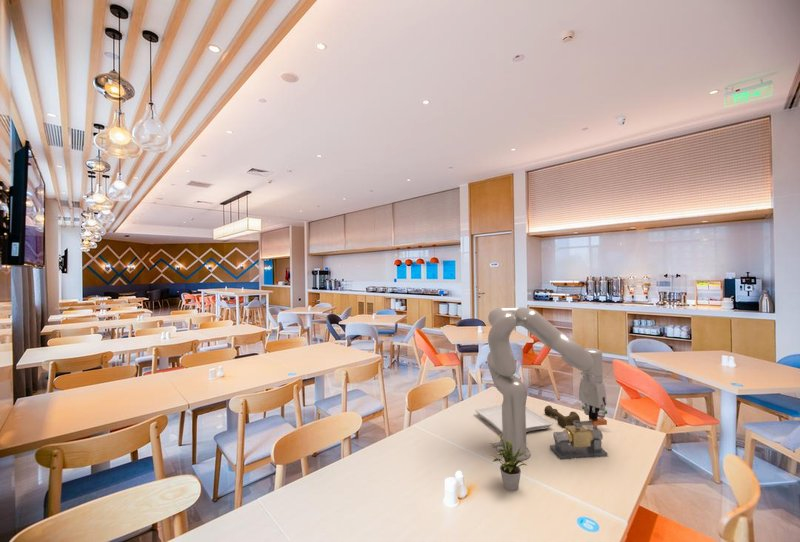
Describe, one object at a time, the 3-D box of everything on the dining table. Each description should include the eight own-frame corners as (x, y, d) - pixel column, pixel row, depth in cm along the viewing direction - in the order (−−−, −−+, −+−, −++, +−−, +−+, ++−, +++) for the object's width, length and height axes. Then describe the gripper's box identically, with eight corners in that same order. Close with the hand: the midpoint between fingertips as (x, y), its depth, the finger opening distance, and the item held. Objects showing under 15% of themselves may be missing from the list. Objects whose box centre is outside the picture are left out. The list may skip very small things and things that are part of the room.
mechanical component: (607, 432, 158) (606, 411, 157) (582, 426, 164) (581, 406, 164) (607, 430, 160) (607, 409, 160) (583, 424, 166) (582, 404, 166)
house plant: (479, 477, 126) (478, 434, 126) (509, 469, 131) (508, 427, 131) (503, 502, 113) (502, 453, 113) (536, 491, 118) (535, 444, 118)
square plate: (474, 416, 179) (474, 409, 179) (518, 408, 187) (518, 401, 187) (504, 440, 153) (504, 432, 153) (554, 430, 162) (554, 422, 162)
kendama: (554, 413, 180) (587, 429, 162) (540, 417, 177) (571, 433, 158) (554, 402, 181) (586, 416, 162) (539, 405, 177) (570, 420, 158)
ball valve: (560, 459, 137) (559, 431, 137) (550, 449, 145) (549, 422, 145) (607, 456, 138) (606, 429, 138) (594, 446, 146) (594, 420, 146)
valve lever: (576, 428, 140) (576, 422, 140) (571, 424, 143) (571, 419, 143) (607, 425, 141) (607, 420, 141) (602, 421, 145) (602, 416, 145)
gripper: (571, 374, 151) (572, 415, 151) (602, 384, 137) (603, 429, 137) (583, 371, 154) (584, 412, 154) (615, 381, 140) (616, 426, 140)
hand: (593, 420), depth 146 cm, fingers closed
